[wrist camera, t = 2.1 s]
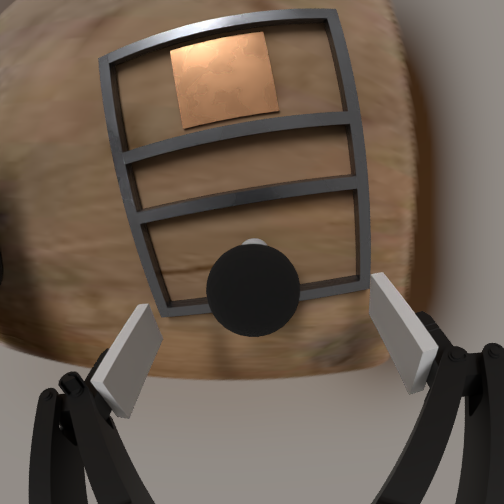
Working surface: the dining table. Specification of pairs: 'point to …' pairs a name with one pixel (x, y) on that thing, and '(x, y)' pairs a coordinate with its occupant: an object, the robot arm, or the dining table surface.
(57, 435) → the robot arm
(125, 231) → the dining table surface
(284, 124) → the gray divided frame
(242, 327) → the light bulb
